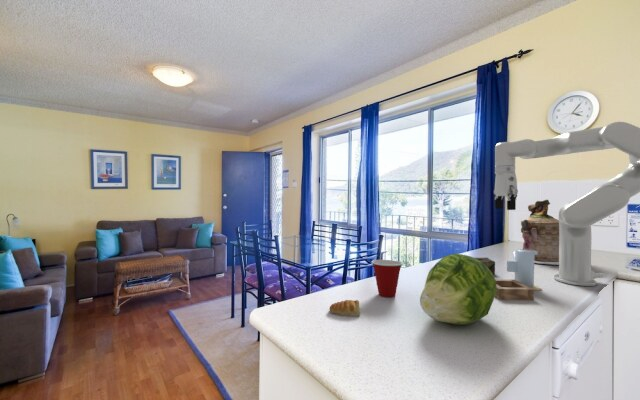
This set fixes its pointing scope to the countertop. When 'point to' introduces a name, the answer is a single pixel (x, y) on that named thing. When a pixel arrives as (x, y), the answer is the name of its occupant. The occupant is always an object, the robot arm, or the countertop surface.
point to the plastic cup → (387, 276)
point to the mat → (536, 288)
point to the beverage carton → (488, 263)
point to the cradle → (513, 290)
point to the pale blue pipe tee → (523, 266)
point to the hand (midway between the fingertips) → (504, 209)
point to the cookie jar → (541, 234)
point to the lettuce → (458, 290)
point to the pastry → (346, 308)
